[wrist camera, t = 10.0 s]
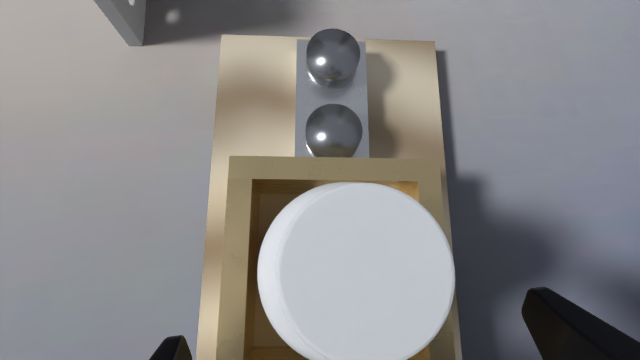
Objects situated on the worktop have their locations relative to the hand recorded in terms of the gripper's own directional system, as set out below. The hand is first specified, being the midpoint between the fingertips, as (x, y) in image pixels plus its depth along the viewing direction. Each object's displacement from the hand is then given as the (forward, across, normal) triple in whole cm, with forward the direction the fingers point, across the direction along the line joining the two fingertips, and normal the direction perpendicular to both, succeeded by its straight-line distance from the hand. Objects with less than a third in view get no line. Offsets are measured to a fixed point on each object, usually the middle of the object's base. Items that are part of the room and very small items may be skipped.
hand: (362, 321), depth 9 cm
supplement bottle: (+7, 0, +5) cm, 8 cm away
